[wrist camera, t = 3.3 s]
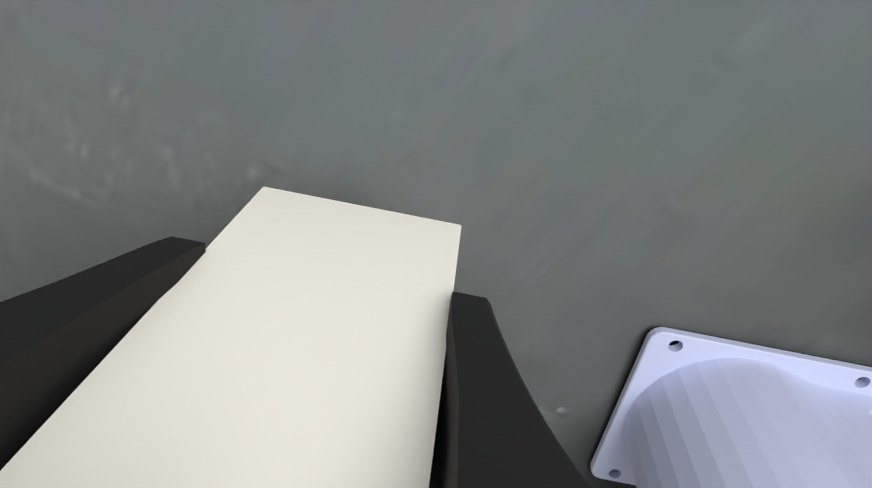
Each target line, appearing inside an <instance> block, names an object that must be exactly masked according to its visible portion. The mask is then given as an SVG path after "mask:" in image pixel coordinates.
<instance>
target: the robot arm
mask: <svg viewBox="0 0 872 488" xmlns="http://www.w3.org/2000/svg"><path fill="white" fill-rule="evenodd" d="M205 252H206V249H205V243H202V242H197V241H192V240H187V239H182V238H177V237H169V238H166V239H162V240H159V241H157V242H154V243H151V244H149V245H146V246H143V247H141V248H138V249H136V250H133V251H131V252H128V253H126V254H123V255H121V256H119V257H116V258H114V259H111V260H109V261H106V262H104V263H101V264H99V265H97V266H94V267H92V268H89V269H87V270H84V271H82V272H79V273H77V274H74V275H72V276H69V277H67V278H64V279H62V280H59V281H57V282H54V283H52V284H49V285H46V286H43V287H41V288H38V289H35V290H32V291H30V292H27V293H24V294H22V295H19V296H16V297H13V298H11V299H8V300H5V301H2V302H0V471H1V470H2V468H3V467H4V466H5V465H6V464H7V463H8V462H9V461H10V460H11V459H12V458H13V457H14V455H15V454H16V453H17V452H18V451H19V450H20V449H21V448H22V447H23V446H24V445H25V444H26V443H27V441H28V440H29V439H30V438H31V437H32V436H33V435H34V434H35V433H36V432H37V431H38V430H39V428H40V427H41V426H42V425H43V424H44V423H45V422H46V421H47V420H48V419H49V418H50V417H51V415H52V414H53V413H54V412H55V411H56V410H57V409H58V408H59V407H60V406H61V405H62V404H63V403H64V401H65V400H66V399H67V398H68V397H69V396H70V395H71V394H72V393H73V392H74V391H75V390H76V388H77V387H78V386H79V385H80V384H81V383H82V382H83V381H84V380H85V379H86V378H87V377H88V376H89V374H90V373H91V372H92V371H93V370H94V369H95V368H96V367H97V366H98V365H99V364H100V363H101V361H102V360H103V359H104V358H105V357H106V356H107V355H108V354H109V353H110V352H111V351H112V350H113V349H114V347H115V346H116V345H117V344H118V343H119V342H120V341H121V340H122V339H123V338H124V337H125V336H126V334H127V333H128V332H129V331H130V330H131V329H132V328H133V327H134V326H135V325H136V324H137V323H138V321H139V320H140V319H141V318H142V317H143V316H144V315H145V314H146V313H147V312H148V311H149V310H150V309H151V307H152V306H153V305H154V304H155V303H156V302H157V301H158V300H159V299H160V298H161V297H162V296H163V295H164V294H166V293H167V292H168V291H169V290H170V289H171V288H172V287H173V286H175V285H176V284H177V283H178V282H179V281H180V280H181V278H182V277H183V276H184V275H185V274H186V273H187V272H188V271H189V270H190V269H191V268H192V266H193V265H194V264H195V263H196V262H197V261H198V260H199V259H200V258H201V257H202V256H203V254H204V253H205ZM672 341H679V342H678V344H675V345H669V344H670V342H672ZM861 377H863V378H861ZM858 378H861V379H860V380H857V379H858ZM856 380H857V381H856ZM590 467H591V472H592V474H593V475H594V476H595V477H597V478H600V479H606V480H611V481H616V482H621V483H626V484H631V485H636V488H872V367H867V366H862V365H857V364H852V363H847V362H841V361H836V360H831V359H826V358H821V357H816V356H810V355H805V354H800V353H795V352H790V351H785V350H780V349H774V348H769V347H764V346H759V345H754V344H749V343H743V342H738V341H733V340H728V339H723V338H718V337H713V336H707V335H702V334H697V333H692V332H687V331H682V330H676V329H671V328H666V327H658V328H654V329H652V330H651V331H649V333H648V334H647V336H646V338H645V340H644V343H643V345H642V347H641V349H640V352H639V354H638V356H637V359H636V361H635V363H634V365H633V368H632V370H631V372H630V374H629V377H628V379H627V381H626V384H625V386H624V388H623V390H622V393H621V395H620V397H619V400H618V402H617V404H616V406H615V409H614V411H613V413H612V415H611V418H610V420H609V422H608V425H607V427H606V429H605V431H604V434H603V436H602V438H601V441H600V443H599V445H598V447H597V450H596V452H595V454H594V456H593V459H592V461H591V465H590ZM613 469H617V470H613ZM429 488H591V487H590V486H589V485H588V483H587V482H586V481H585V479H584V478H583V477H582V475H581V474H580V473H579V471H578V470H577V468H576V467H575V466H574V464H573V463H572V461H571V460H570V458H569V457H568V456H567V454H566V453H565V451H564V450H563V448H562V447H561V445H560V444H559V442H558V441H557V439H556V437H555V436H554V434H553V433H552V431H551V429H550V428H549V426H548V425H547V423H546V421H545V420H544V418H543V416H542V414H541V413H540V411H539V409H538V408H537V406H536V404H535V402H534V401H533V399H532V397H531V395H530V393H529V391H528V389H527V388H526V386H525V384H524V382H523V380H522V378H521V376H520V374H519V372H518V370H517V368H516V366H515V364H514V362H513V360H512V357H511V355H510V353H509V351H508V349H507V346H506V344H505V342H504V339H503V337H502V334H501V332H500V329H499V327H498V324H497V322H496V319H495V316H494V313H493V310H492V307H491V304H490V303H489V301H488V300H487V298H483V297H478V296H473V295H468V294H463V293H458V292H453V291H452V295H451V300H450V308H449V315H448V323H447V331H446V354H445V362H444V370H443V378H442V386H441V394H440V402H439V410H438V418H437V426H436V434H435V442H434V450H433V458H432V466H431V474H430V482H429Z"/></svg>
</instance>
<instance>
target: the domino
mask: <svg viewBox="0 0 872 488" xmlns="http://www.w3.org/2000/svg"><path fill="white" fill-rule="evenodd" d="M460 233H461V225H458V224H453V223H448V222H443V221H437V220H432V219H427V218H422V217H417V216H412V215H407V214H402V213H396V212H391V211H386V210H381V209H376V208H371V207H366V206H361V205H355V204H350V203H345V202H340V201H335V200H330V199H325V198H320V197H314V196H309V195H304V194H299V193H294V192H289V191H284V190H279V189H273V188H268V187H263V188H262V189H261V190H260V191H259V192H258V193H257V194H256V195H255V196H254V197H253V198H252V199H251V200H250V202H249V203H248V204H247V205H246V206H245V207H244V208H243V209H242V210H241V211H240V212H239V213H238V215H237V216H236V217H235V218H234V219H233V220H232V221H231V222H230V223H229V224H228V225H227V226H226V227H225V229H224V230H223V231H222V232H221V233H220V234H219V235H218V236H217V237H216V238H215V239H214V240H213V242H212V243H211V244H210V245H209V246H208V247H207V248H206V252H205V253H204V254H203V256H202V257H201V258H200V259H199V260H198V261H197V262H196V263H195V264H194V265H193V266H192V268H191V269H190V270H189V271H188V272H187V273H186V274H185V275H184V276H183V277H182V278H181V280H180V281H179V282H178V283H177V284H176V285H175V286H173V287H172V288H171V289H170V290H169V291H168V292H167V293H166V294H164V295H163V296H162V297H161V298H160V299H159V300H158V301H157V302H156V303H155V304H154V305H153V306H152V307H151V309H150V310H149V311H148V312H147V313H146V314H145V315H144V316H143V317H142V318H141V319H140V320H139V321H138V323H137V324H136V325H135V326H134V327H133V328H132V329H131V330H130V331H129V332H128V333H127V334H126V336H125V337H124V338H123V339H122V340H121V341H120V342H119V343H118V344H117V345H116V346H115V347H114V349H113V350H112V351H111V352H110V353H109V354H108V355H107V356H106V357H105V358H104V359H103V360H102V361H101V363H100V364H99V365H98V366H97V367H96V368H95V369H94V370H93V371H92V372H91V373H90V374H89V376H88V377H87V378H86V379H85V380H84V381H83V382H82V383H81V384H80V385H79V386H78V387H77V388H76V390H75V391H74V392H73V393H72V394H71V395H70V396H69V397H68V398H67V399H66V400H65V401H64V403H63V404H62V405H61V406H60V407H59V408H58V409H57V410H56V411H55V412H54V413H53V414H52V415H51V417H50V418H49V419H48V420H47V421H46V422H45V423H44V424H43V425H42V426H41V427H40V428H39V430H38V431H37V432H36V433H35V434H34V435H33V436H32V437H31V438H30V439H29V440H28V441H27V443H26V444H25V445H24V446H23V447H22V448H21V449H20V450H19V451H18V452H17V453H16V454H15V455H14V457H13V458H12V459H11V460H10V461H9V462H8V463H7V464H6V465H5V466H4V467H3V468H2V470H1V471H0V488H429V482H430V474H431V466H432V458H433V450H434V442H435V434H436V426H437V418H438V410H439V402H440V394H441V386H442V378H443V370H444V362H445V354H446V331H447V323H448V315H449V308H450V300H451V295H452V291H453V289H454V281H455V273H456V265H457V257H458V249H459V241H460Z"/></svg>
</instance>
